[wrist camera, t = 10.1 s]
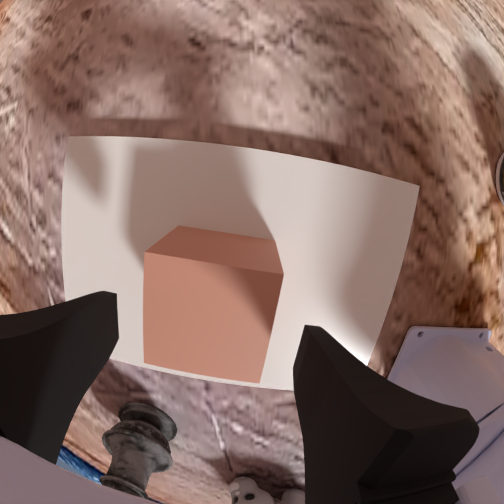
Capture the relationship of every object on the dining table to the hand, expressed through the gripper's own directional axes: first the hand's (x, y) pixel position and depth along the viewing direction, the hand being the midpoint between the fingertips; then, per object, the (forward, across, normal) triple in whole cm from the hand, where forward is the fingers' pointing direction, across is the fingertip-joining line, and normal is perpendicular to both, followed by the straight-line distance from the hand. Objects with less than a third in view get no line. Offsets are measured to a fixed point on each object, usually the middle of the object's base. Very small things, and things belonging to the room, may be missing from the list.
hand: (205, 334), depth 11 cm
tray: (+7, 0, 0) cm, 7 cm away
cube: (+5, 0, 0) cm, 5 cm away
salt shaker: (+7, +5, +15) cm, 17 cm away
